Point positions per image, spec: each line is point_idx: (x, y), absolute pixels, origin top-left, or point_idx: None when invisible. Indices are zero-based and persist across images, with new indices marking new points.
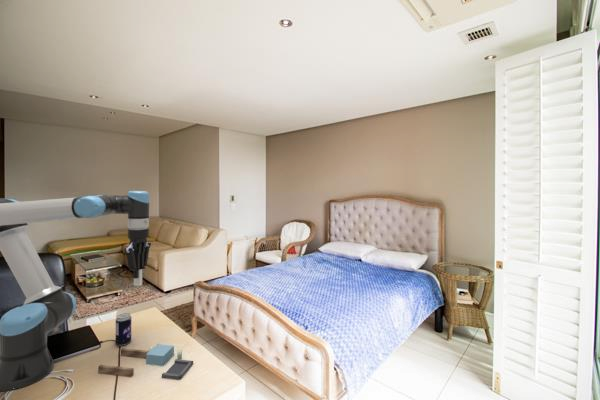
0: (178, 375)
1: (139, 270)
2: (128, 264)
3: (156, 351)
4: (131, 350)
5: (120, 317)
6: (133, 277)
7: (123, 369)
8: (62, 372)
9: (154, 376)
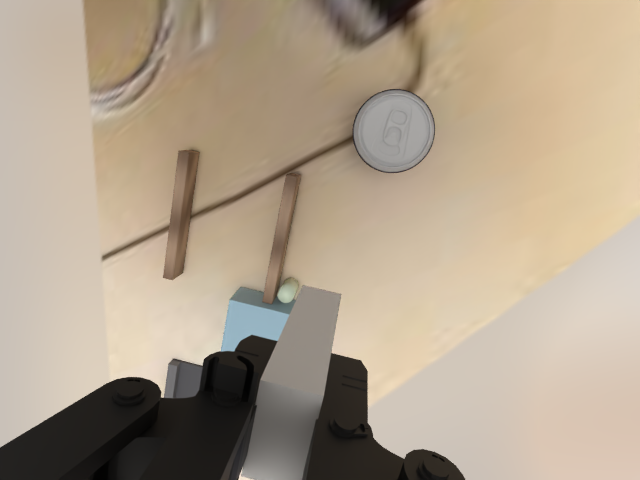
0: None
1: (243, 466)
2: (5, 449)
3: (247, 329)
4: (279, 222)
5: (374, 122)
6: (243, 339)
7: (167, 248)
8: (190, 11)
9: (179, 336)
